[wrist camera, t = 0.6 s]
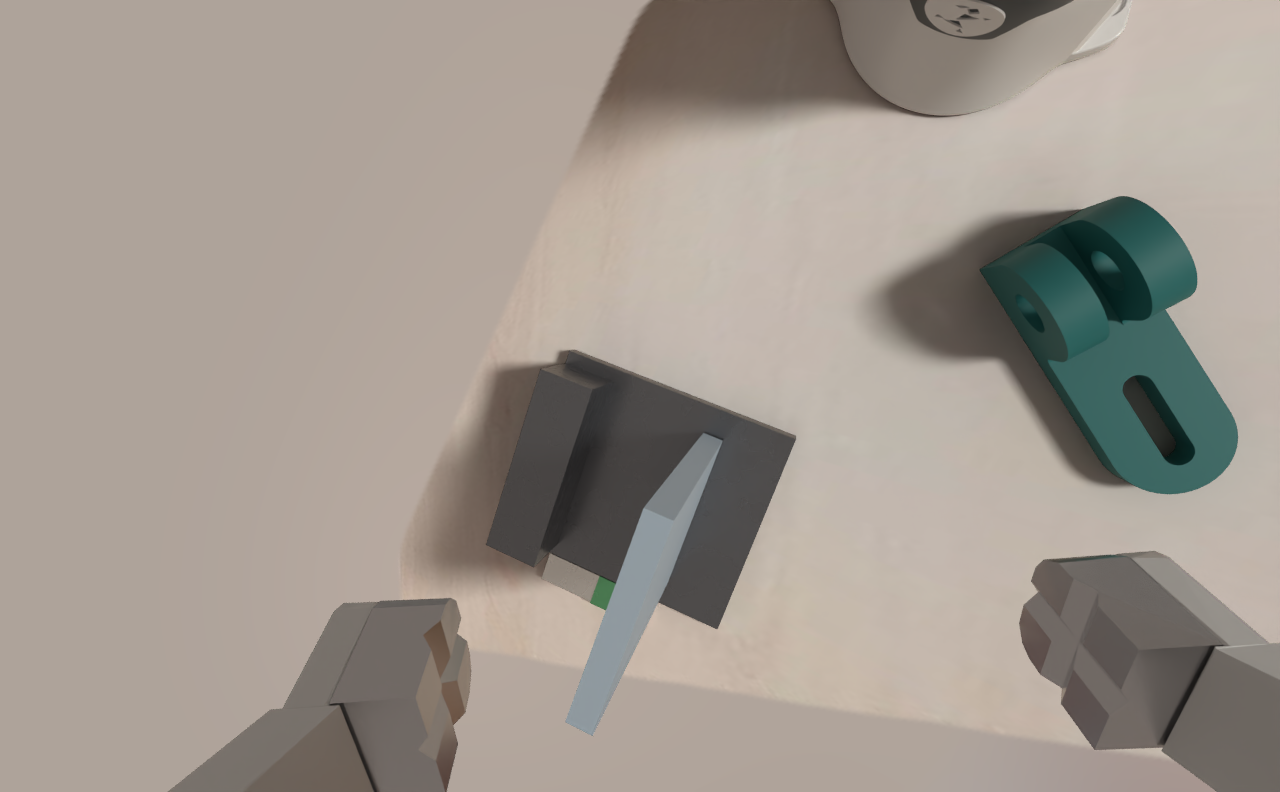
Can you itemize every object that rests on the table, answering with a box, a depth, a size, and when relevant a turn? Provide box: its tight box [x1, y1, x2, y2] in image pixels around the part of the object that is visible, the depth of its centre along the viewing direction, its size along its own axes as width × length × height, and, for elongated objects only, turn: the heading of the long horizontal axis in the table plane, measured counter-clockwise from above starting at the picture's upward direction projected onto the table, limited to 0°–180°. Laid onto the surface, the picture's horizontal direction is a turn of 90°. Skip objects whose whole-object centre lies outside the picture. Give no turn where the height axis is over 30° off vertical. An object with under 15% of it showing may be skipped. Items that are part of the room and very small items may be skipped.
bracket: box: [980, 196, 1238, 494], centre depth 37 cm, size 18×7×8 cm, turn 33°
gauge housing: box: [486, 350, 796, 629], centre depth 46 cm, size 19×18×6 cm
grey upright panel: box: [566, 433, 723, 736], centre depth 39 cm, size 16×2×18 cm, turn 160°
